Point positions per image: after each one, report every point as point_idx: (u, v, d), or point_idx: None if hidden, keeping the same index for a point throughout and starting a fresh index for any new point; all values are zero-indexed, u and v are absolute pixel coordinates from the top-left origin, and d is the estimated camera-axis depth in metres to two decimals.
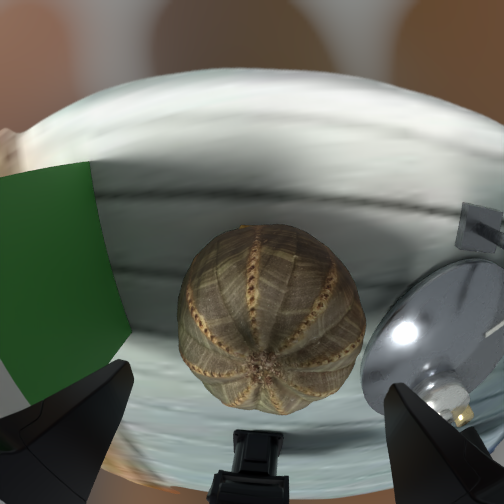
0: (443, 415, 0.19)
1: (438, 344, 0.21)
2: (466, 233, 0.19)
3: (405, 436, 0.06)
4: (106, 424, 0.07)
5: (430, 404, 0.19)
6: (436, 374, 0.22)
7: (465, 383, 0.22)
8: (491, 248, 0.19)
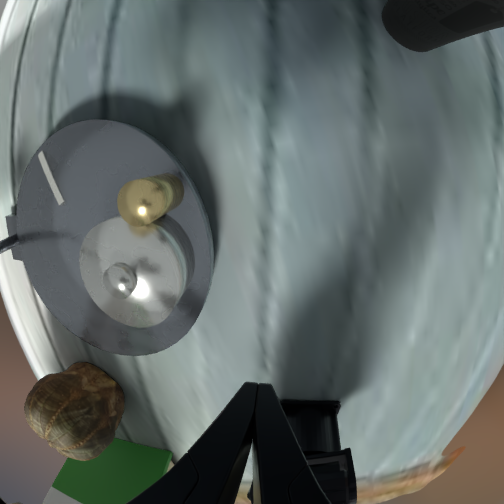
0: None
1: (79, 281, 0.20)
2: None
3: (254, 442, 0.06)
4: (245, 457, 0.06)
5: (104, 309, 0.17)
6: None
7: None
8: None
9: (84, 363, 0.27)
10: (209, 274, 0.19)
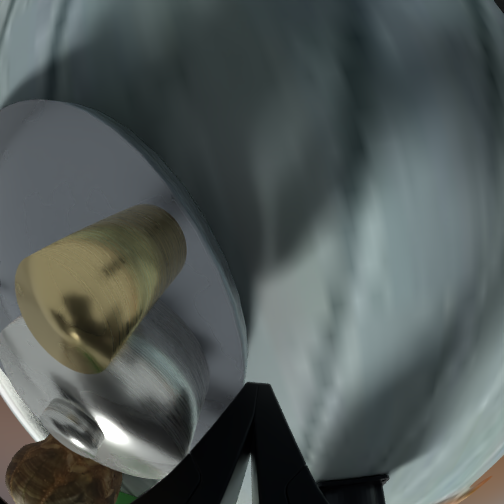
0: None
1: None
2: None
3: (252, 442, 0.06)
4: (247, 457, 0.06)
5: None
6: None
7: (83, 228, 0.08)
8: None
9: None
10: None
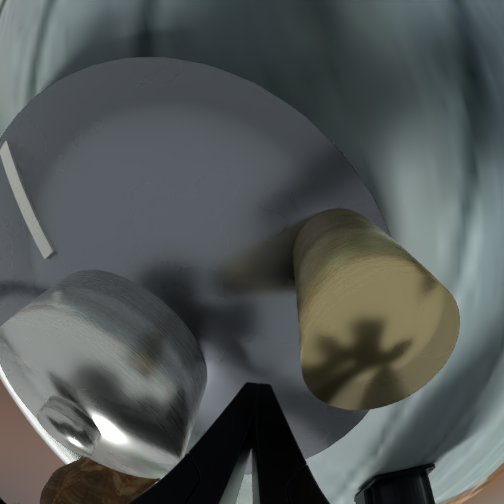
0: None
1: None
2: None
3: (253, 442, 0.06)
4: (246, 457, 0.06)
5: None
6: None
7: (247, 231, 0.07)
8: None
9: None
10: None
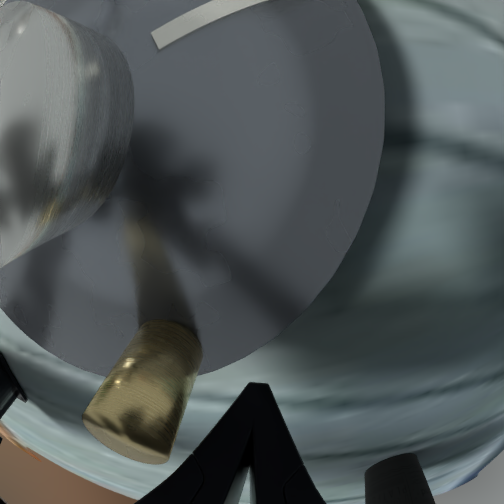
0: None
1: None
2: None
3: (250, 442, 0.06)
4: (249, 457, 0.06)
5: None
6: None
7: (178, 290, 0.08)
8: None
9: None
10: None
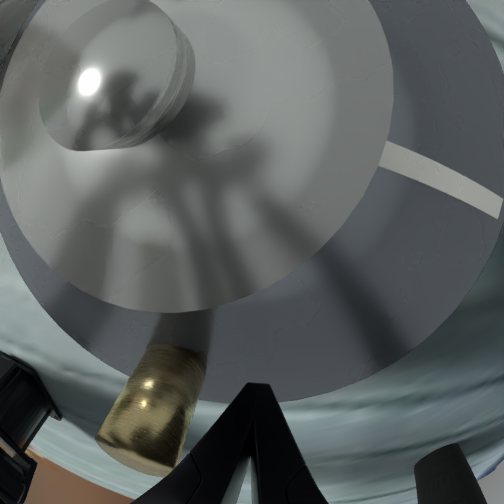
0: (121, 3, 0.02)
1: None
2: None
3: (252, 442, 0.06)
4: (247, 457, 0.06)
5: None
6: None
7: (222, 345, 0.09)
8: None
9: None
10: None
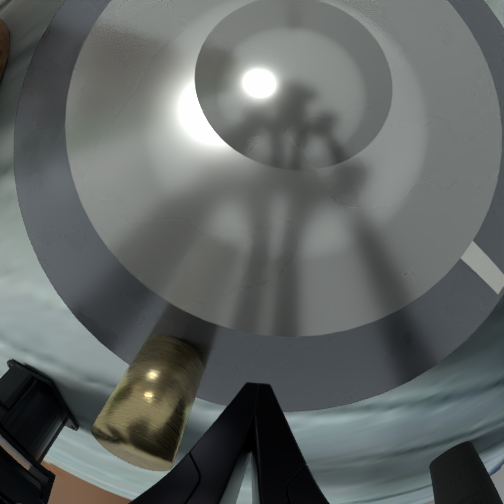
0: None
1: None
2: None
3: (252, 442, 0.06)
4: (247, 457, 0.06)
5: None
6: None
7: (232, 350, 0.09)
8: None
9: (5, 50, 0.07)
10: None
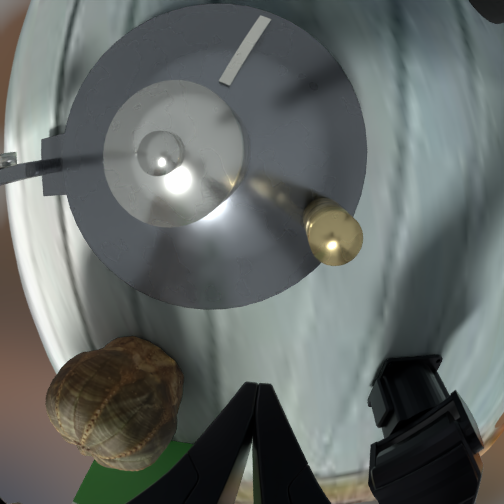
0: None
1: None
2: (61, 190, 0.18)
3: (254, 442, 0.06)
4: (245, 457, 0.06)
5: (105, 150, 0.12)
6: None
7: (310, 178, 0.15)
8: None
9: (131, 337, 0.23)
10: None
